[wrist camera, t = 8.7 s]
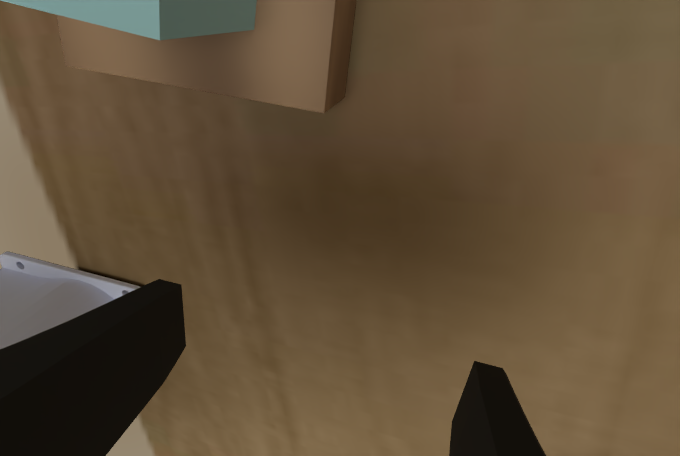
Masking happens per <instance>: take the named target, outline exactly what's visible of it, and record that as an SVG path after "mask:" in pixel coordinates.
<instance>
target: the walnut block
mask: <svg viewBox="0 0 680 456" xmlns="http://www.w3.org/2000/svg"><path fill="white" fill-rule="evenodd" d="M355 8H356V0H257V2H256V14H255V26H254V30H248V31H239V32H230V33H221V34H212V35H203V36H194V37H185V38H176V39H168V40H156V39H152V38H148V37H144V36H140V35H136V34H132V33H128V32H124V31H120V30H116V29H112V28H108V27H104V26H100V25H96V24H92V23H88V22H84V21H80V20H76V19H72V18H68V17H64V16H60V15H56V16H57V21H58V27H59V32H60V38H61V43H62V49H63V54H64V60H65V65H66V66H68V67H74V68H79V69H85V70H90V71H96V72H101V73H107V74H112V75H118V76H123V77H129V78H134V79H139V80H145V81H150V82H156V83H161V84H167V85H172V86H178V87H183V88H189V89H194V90H200V91H205V92H210V93H216V94H221V95H227V96H232V97H238V98H243V99H249V100H254V101H260V102H265V103H271V104H276V105H281V106H287V107H292V108H298V109H303V110H309V111H314V112H320V113H325V112H326V111H328V110H329V109H330V108H331V107H333V106H334V105H335V104H337V103H338V102H339V101H340V100H342V99H343V98H344V97H345V90H346V82H347V74H348V66H349V58H350V49H351V41H352V33H353V25H354V16H355Z"/></svg>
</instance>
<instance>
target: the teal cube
mask: <svg viewBox="0 0 680 456" xmlns="http://www.w3.org/2000/svg"><path fill="white" fill-rule="evenodd" d="M1 1H5V2H9V3H13V4H17V5H21V6H24V7H28V8H32V9H36V10H40V11H44V12H48V13H52V14H56V15H60V16H64V17H68V18H72V19H76V20H80V21H84V22H88V23H92V24H96V25H100V26H104V27H108V28H112V29H116V30H120V31H124V32H128V33H132V34H136V35H140V36H144V37H148V38H152V39H156V40H168V39H176V38H185V37H194V36H203V35H212V34H221V33H230V32H239V31H248V30H254V26H255V14H256V2H257V0H1Z"/></svg>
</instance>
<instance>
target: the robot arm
mask: <svg viewBox="0 0 680 456" xmlns="http://www.w3.org/2000/svg"><path fill="white" fill-rule="evenodd" d="M0 263H1V266H2V268H1V269H0V456H106V454H107V453H108V452H109V451H110V449H111V448H112V447H113V446H114V444H115V443H116V442H117V441H118V439H119V438H120V437H121V436H122V434H123V433H124V432H125V430H126V429H127V428H128V427H129V426H130V424H131V423H132V422H133V421H134V419H135V418H136V417H137V416H138V414H139V413H140V412H141V411H142V409H143V408H144V407H145V406H146V404H147V403H148V402H149V401H150V399H151V398H152V397H153V395H154V394H155V393H156V392H157V390H158V389H159V388H160V386H161V385H162V384H163V382H164V381H165V380H166V378H167V376H168V375H169V373H170V372H171V370H172V368H173V367H174V365H175V364H176V362H177V360H178V358H179V357H180V355H181V353H182V352H183V350H184V348H185V347H186V341H185V328H184V314H183V301H182V288H181V285H180V284H176V283H173V282H169V281H165V280H161V279H158V280H156V281H154V282H151V283H149V284H147V285H144V286H142V287H139V286H137V285H133V284H129V283H126V282H122V281H118V280H114V279H111V278H107V277H103V276H99V275H95V274H92V273H88V272H84V271H80V270H77V269H73V268H69V267H65V266H61V265H58V264H54V263H50V262H46V261H42V260H39V259H35V258H31V257H28V256H24V255H20V254H16V253H12V252H5V253H3V254H1V255H0ZM449 456H546V455H545V453H544V451H543V449H542V447H541V445H540V444H539V442H538V440H537V438H536V436H535V434H534V432H533V430H532V428H531V426H530V424H529V422H528V420H527V418H526V416H525V414H524V412H523V410H522V407H521V405H520V403H519V401H518V399H517V397H516V395H515V392H514V390H513V388H512V386H511V384H510V381H509V379H508V377H507V375H506V373H505V371H504V370H503V368H500V367H496V366H492V365H488V364H484V363H480V362H476V361H474V363H473V366H472V369H471V372H470V374H469V377H468V380H467V382H466V385H465V388H464V391H463V393H462V396H461V399H460V401H459V404H458V407H457V410H456V412H455V415H454V418H453V420H452V429H451V441H450V454H449Z"/></svg>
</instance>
